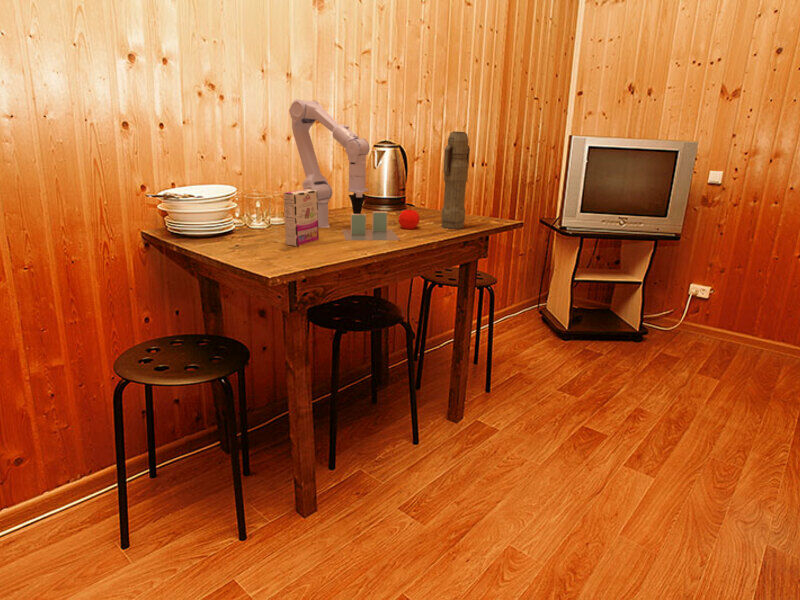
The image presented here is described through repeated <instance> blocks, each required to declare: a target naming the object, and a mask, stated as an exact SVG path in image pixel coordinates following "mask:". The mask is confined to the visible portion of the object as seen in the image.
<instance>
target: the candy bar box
mask: <svg viewBox="0 0 800 600" xmlns="http://www.w3.org/2000/svg"><path fill="white" fill-rule="evenodd" d="M283 211H284V212H283V213H284V230H285V245H286V246H291V247H296V248H297V247H300V245H303V244H307V243H310V242H315V241H318V240H319V237H320V236H319V235H320V234H319V227H318V200H317V190H309V189H305V190H303V189H300V190H293V191H288V192H283Z"/></svg>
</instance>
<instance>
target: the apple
mask: <svg viewBox="0 0 800 600" xmlns="http://www.w3.org/2000/svg"><path fill="white" fill-rule="evenodd" d="M420 220H421V218H420V215H419V213H418V212H417V210H413V209H405V210H403V211H401V212H400V214H399V216H398V223H399V224H398V225H400V226H401V228H402V229H405V230H413V229H415V228H417V226H418V225H419V223H420Z"/></svg>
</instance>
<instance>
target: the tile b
mask: <svg viewBox="0 0 800 600" xmlns="http://www.w3.org/2000/svg"><path fill="white" fill-rule="evenodd" d="M371 216H372V219H371V220H372V221H371V224H372V225H371V227H372V228H371V230H372V232H387V230H388V211H372V215H371Z"/></svg>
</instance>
